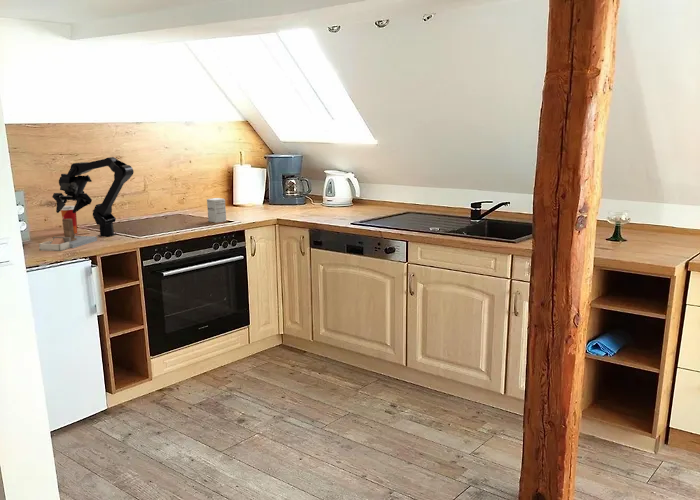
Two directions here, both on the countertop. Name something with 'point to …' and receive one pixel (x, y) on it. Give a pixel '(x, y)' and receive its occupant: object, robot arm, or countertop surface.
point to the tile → (58, 241)
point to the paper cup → (70, 216)
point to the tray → (53, 246)
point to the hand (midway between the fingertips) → (65, 212)
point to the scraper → (67, 231)
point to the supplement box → (216, 210)
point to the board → (81, 241)
